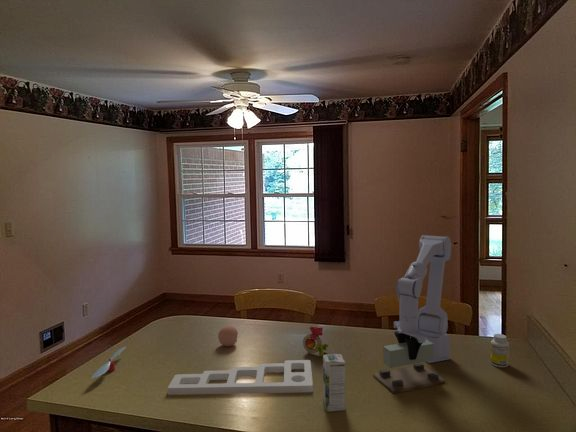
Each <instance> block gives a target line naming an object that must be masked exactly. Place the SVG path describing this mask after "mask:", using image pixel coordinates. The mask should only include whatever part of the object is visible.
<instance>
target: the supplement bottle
mask: <svg viewBox="0 0 576 432" xmlns="http://www.w3.org/2000/svg"><path fill="white" fill-rule="evenodd" d="M507 340H508V339H507V335H504V334H501V333H495V334H493V338H492V340H490V363H491V364H492V365H493V366H495V367H498V368H507V367H508V366H509V361H510V360H509V359H510V342H508V341H507Z"/></svg>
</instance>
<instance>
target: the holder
mask: <svg viewBox="0 0 576 432" xmlns="http://www.w3.org/2000/svg"><path fill="white" fill-rule="evenodd" d="M292 370H304V371H294V372H292ZM312 371H313V370H312V362H311V360H310V359H299V360H298V359H295V360H293V359H291V360H290V359H288V360H284V362H283V363H281V362H277V363H275V362H274V363H258V365H257V366H232V367H231V368H230V369H227V370H226V369H225V370H223V369H222V370H221V369H220V370H204V371H203V372H202V373H184V374H183V373H181V374H179V373H178V374H174V376H173V377H172V380H171V381H170V383H169V385H168V386H167V395H168V396H169V395H170V396H171V395H173V396H175V395H179V396H181V395H183V396H184V395H221V394H222V395H224V394H225V395H226V394H227V395H229V394H230V395H231V394H232V395H234V394H277V393H278V394H280V393H281V394H282V393H284V394H285V393H286V394H287V393H292V394H293V393H313V392H314V382H313V374H312ZM267 372H269V373H270V372H275V373H283V372H284V373H283V381H282V382H281V381H280V382H279V381H278V382H264V381H265V376H264V375H265V374H267ZM239 377H255V381H254V382H248V383H247V382H238V383H237V380H238V378H239ZM225 379H226V383H210V381H225ZM227 379H228V380H227Z"/></svg>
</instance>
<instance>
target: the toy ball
mask: <svg viewBox="0 0 576 432" xmlns="http://www.w3.org/2000/svg"><path fill="white" fill-rule="evenodd" d="M238 334H239V332H238V329H236V327H235V326H233V325H225V326H223V327H222V328H221V329H220V330H219V331H218V334H217V339H218V342H219V343H220V344H221V345H223V346H225V347H232V346H233V345H235V344H236V343H237V341H238Z"/></svg>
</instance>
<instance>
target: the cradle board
mask: <svg viewBox="0 0 576 432" xmlns="http://www.w3.org/2000/svg"><path fill="white" fill-rule="evenodd" d="M372 376H373V377H374V378H375V379H376V380H377V381H378V382H379V383H380V384H381V385H383V386H384V387H385V388H386V389H387V390H388V391H390V392H391V393H392V395H393V394H398V393H403V392H407V391H413V390H417V389H422V388H427V387H431V386H436V385H440V384H445V383H446V379H444V378H443V377H441V376H440V375H439V374H438V373H437V372H435V371H433V370H431V369H429V368H428V367H427V366H426V365H425V364H424V363H423V362H420V363H415V364H413V366H407V367H403V368H397V369H391V370H389V369H388V368H387V369H386V368H385V369H381V370H379V372H376V373H373V374H372Z"/></svg>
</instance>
